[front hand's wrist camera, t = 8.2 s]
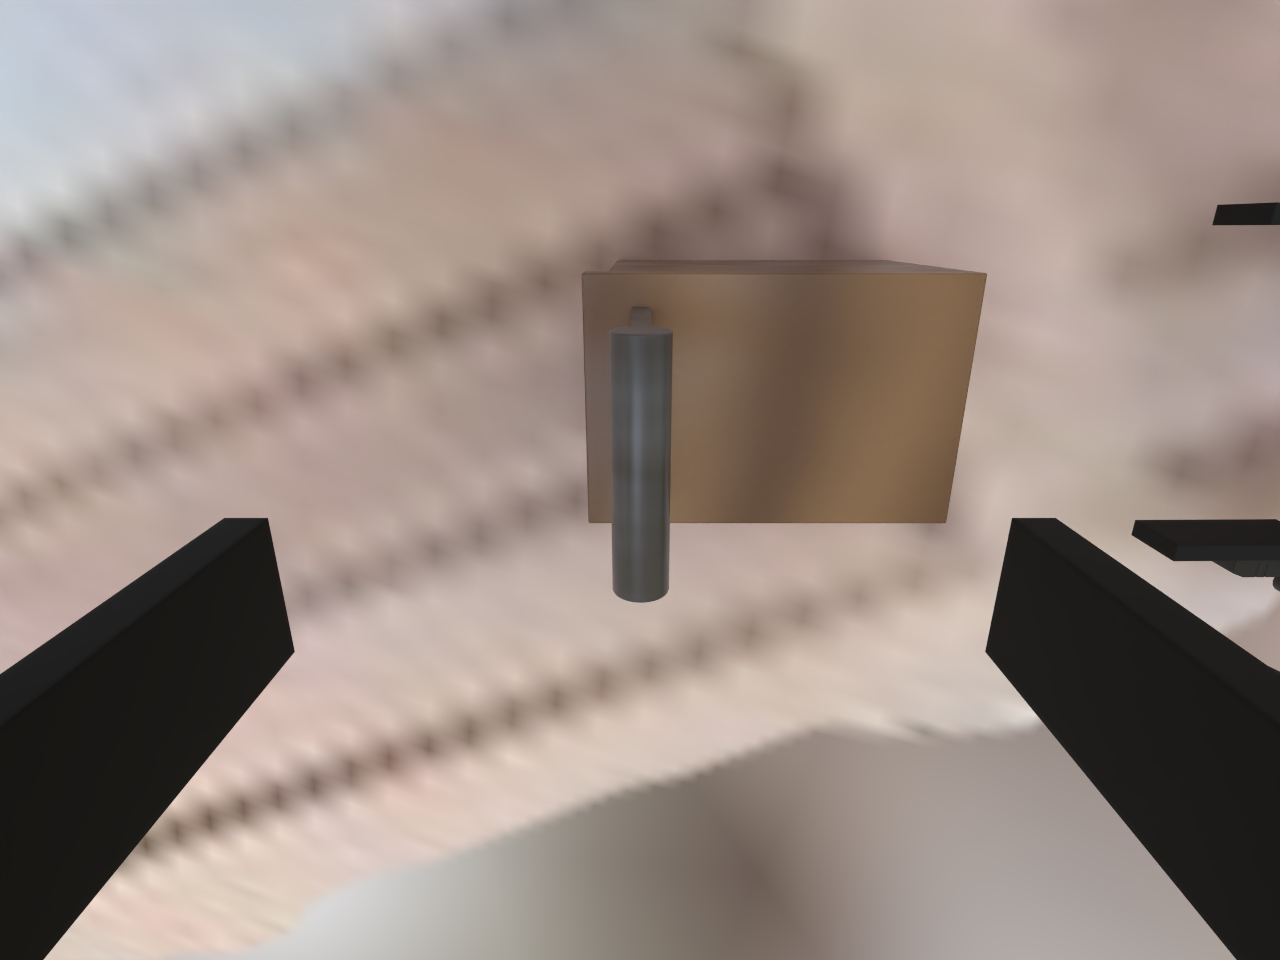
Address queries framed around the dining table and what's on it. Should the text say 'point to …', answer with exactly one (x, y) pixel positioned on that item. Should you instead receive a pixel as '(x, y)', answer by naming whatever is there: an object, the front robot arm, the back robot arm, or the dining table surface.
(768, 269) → the chest
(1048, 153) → the dining table surface
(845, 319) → the brown piece
